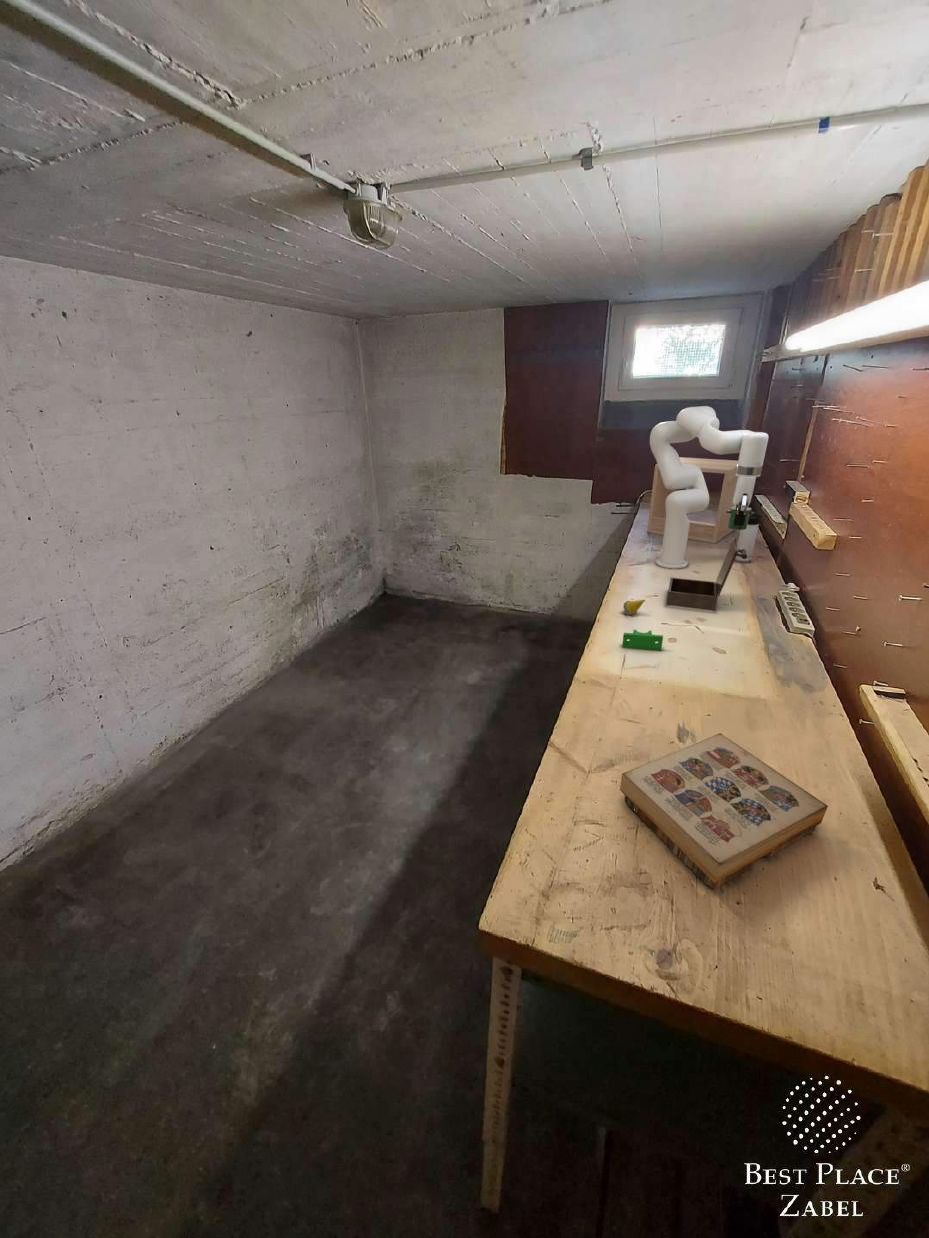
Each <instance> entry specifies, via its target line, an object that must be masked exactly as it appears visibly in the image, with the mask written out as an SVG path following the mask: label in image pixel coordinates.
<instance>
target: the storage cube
mask: <svg viewBox="0 0 929 1238" xmlns="http://www.w3.org/2000/svg"><path fill="white" fill-rule="evenodd" d="M679 459H680V462H681V464H682V465H690V464H692V465H696V466H698V467H699V468H700V469H701V471H702V473H711V474H712V473H713V474H724V477H723V482H722V487H721V492H720V498H719V502H718V509H717V514H716V519H715V523H712V522H704V521H697V520H690V519H688V520H689V524H690V525H689V533H688V539H687V540H693V541H698V542H699V541H700V542H705V543H712V544H715V543H717V542H719V541H720V540H721V539H723V538H724V537H726V536H727V535H729V534H730V533H731V532H733V531H735V530H734V529H730V528H728V523H729V518H730V513H726V511H731V509H730V508H731V507H734V506H735V505H734V504H733V497H734V493H735V488H736V484H737V480H738V476H736V470H737V465H738V460H733V459H716V458H700V457H699V458H698V457H682V456H679ZM653 473H654V474H653V481H652V489H651V495H650V498H651V499H650V505H649V513H648V520H647V530H646V532H647V533H649V534H655V535H661V536H662V535H663V536H664V529H665V521H666V506H665V503H666V499H667V497H668V495H669V494H671V493H672V492H675V491H678V489H675V490H669V489H667V488H665V486H664V484H663V481H662V477H661V474H660V471H659V467H658V464H655V465H654V472H653Z"/></svg>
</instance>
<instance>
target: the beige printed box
mask: <svg viewBox="0 0 929 1238" xmlns="http://www.w3.org/2000/svg"><path fill="white" fill-rule="evenodd" d="M619 791H621V793H622V794H624V802H625V804H627V806H628V807H629V808H630V809H631V810H632V811H633V812H634V813H636V814H637V817H638V818H639V820H641V821H643V822H644V823H645V824H646V825H647V826H648V827H649V828H650V829H651V830H652V831H653V832H654V833H655V835H657V836H658V837H659V839H661V840H662V842H664V843H665V845H666V846H668V849H669V850H670V851H671V852H672V853H673V854H674V855H675V856H676V857H677V858H678V860H679V859H680V860H681V862H682V863H683V864H684V865H685V866H686V867H688V868H689V869H690V870H691V871H692V872H693V874H694V875H695V876H696V877H698V878H699V879H700V881H702V882H703V883H704V884H706V885H708V886H709V888H710V889H712V890H716V889H718V888H720V887H721V886H723V885H724V884H727V883H728V882H731V881H732V880H734V879H735V878H736V877H737V878H738V877H739V876H740V875H742V874H744V873H745V872H746V871H749V870H750V866H751V864H752V863H754V862H755V861H757V860H759V859H761V858H763V857H764V856H765V857H767V858H771V857H773V856H775V855H777V854H778V853H779V852H781V851H782V850H784V849H786V848H787V847H789V846H791V845H793V844H794V843H795V842H796V841H799V840H801V839H803V838H804V837H807V836H808V835H809V834H811V833H814V831H815V829H816V828H817V826H819V825H821V824H822V823H823V819H824V817H825V815H826V812H827V809H828V807H829V805H827V804H826V803H824V801H822V800H820V799H819V798H817V797H816V796H815V795H813V794H811V793H810V792H808V791H807V790H806V789H804V788H802V787H801V786H799V785H798V784H797V783H795V782H794V781H792V780H791V779H789V778H787V776H785V775H783V774H781V773H780V772H778V770H776V769H774V768H773V767H771V766H770V765H768V764H767V763H765V762H764V761H762V760H761V759H760V758H758V757H757V756H755V755H753V754H752V753H750V752H749V751H748V750H747V749H745V748H743V747H742V746H740V745H739V744H737V743H735V742H734V741H733V740H731V739H730V738H729V737H727V736H725V735H724V734H722V732H720V733H717V734H715V735H712V736H710V737H707V738H704V739H701V740H699V741H697V742H694V743H691V744H689V745H687V746H684V747H682V748H679V749H677V750H675V751H672V752H669V753H667V754H665V755H662V756H660V757H658V758H657V757H656V759H652V760H650V761H647V763H644V764H642V765H639V766H637V767H635V768H631V769H629V770H627V771H624V772H623V773H621V780H620V787H619ZM634 809H635V810H634Z"/></svg>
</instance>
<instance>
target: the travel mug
mask: <svg viewBox="0 0 929 1238" xmlns="http://www.w3.org/2000/svg"><path fill="white" fill-rule="evenodd" d="M761 518H762V515H761V514H753V515H752V514H750V515H749V519H748V524H747V528H746V529H744V530H739V535H738V539H737V547H738V549H739V550H742V549H745V550H746V553H747V558H746V559H742V557H739V556H736V558H735V560H734V562H736V563H740V564H749V563H751V560H752V556H753V551H754V548H755V543H756V538H757V534H758V529H759V526H760V520H761ZM738 554H741V552H738Z"/></svg>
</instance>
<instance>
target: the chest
mask: <svg viewBox="0 0 929 1238" xmlns="http://www.w3.org/2000/svg"><path fill="white" fill-rule="evenodd" d="M718 597H719V596H717V593H716V581H707V580H701V579H700V580H697V579H689V578H678V577H670V579H669V585H668V591H667V597H666V603H665V605H666V606H671V607H672V606H673V607H679V608H688V609H696V610H704V611H712V612H715V611H716V607H717V601H718Z"/></svg>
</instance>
